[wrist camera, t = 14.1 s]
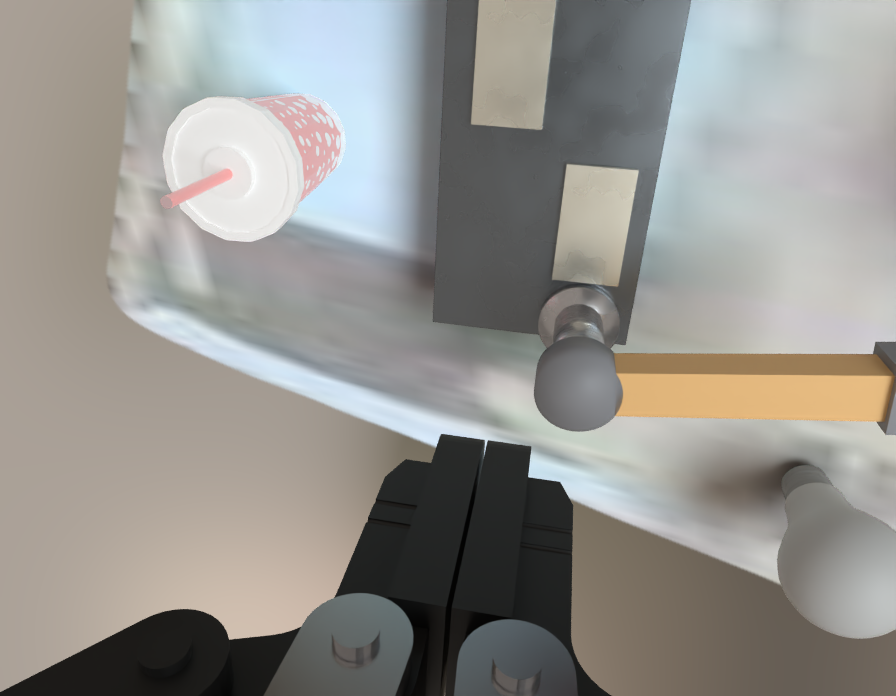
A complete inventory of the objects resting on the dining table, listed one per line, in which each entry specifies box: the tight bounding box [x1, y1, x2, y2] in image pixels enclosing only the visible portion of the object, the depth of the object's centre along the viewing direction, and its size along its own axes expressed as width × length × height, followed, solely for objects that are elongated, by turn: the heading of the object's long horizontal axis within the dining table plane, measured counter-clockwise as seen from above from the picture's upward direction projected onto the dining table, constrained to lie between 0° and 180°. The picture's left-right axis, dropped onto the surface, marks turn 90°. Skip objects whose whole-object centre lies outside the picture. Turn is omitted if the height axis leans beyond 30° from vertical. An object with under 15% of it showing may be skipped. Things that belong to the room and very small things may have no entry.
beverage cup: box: [160, 93, 346, 242], centre depth 31 cm, size 6×6×14 cm
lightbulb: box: [777, 465, 896, 639], centre depth 36 cm, size 6×6×11 cm
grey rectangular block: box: [433, 0, 691, 348], centre depth 31 cm, size 19×10×9 cm, turn 177°
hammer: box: [534, 336, 896, 435], centre depth 28 cm, size 15×4×2 cm, turn 95°
